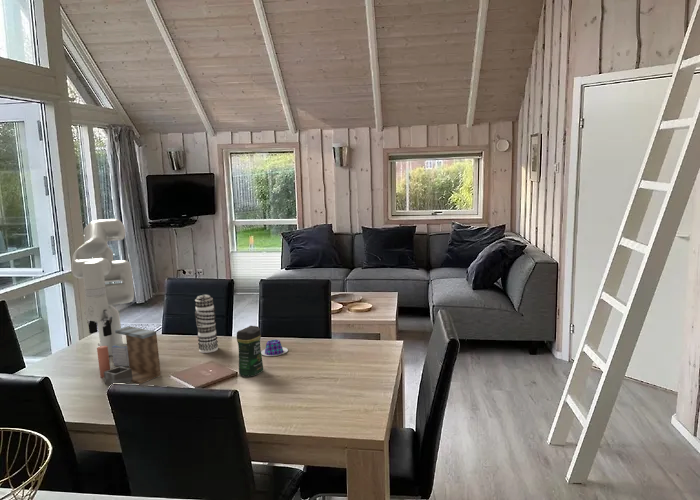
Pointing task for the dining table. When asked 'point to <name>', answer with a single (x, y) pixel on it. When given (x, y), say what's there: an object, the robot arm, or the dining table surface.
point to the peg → (103, 360)
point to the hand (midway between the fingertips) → (100, 334)
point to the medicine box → (120, 355)
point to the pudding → (273, 348)
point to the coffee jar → (249, 351)
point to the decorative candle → (206, 324)
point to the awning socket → (137, 358)
